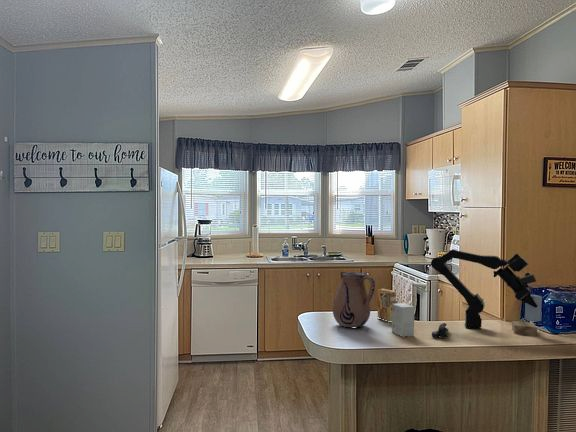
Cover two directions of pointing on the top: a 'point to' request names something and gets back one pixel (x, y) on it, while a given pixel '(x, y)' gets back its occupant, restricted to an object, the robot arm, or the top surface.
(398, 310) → the small box
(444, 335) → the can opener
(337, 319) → the ceramic pitcher
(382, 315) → the candy box
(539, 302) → the pillar
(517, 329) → the base block
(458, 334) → the top surface
